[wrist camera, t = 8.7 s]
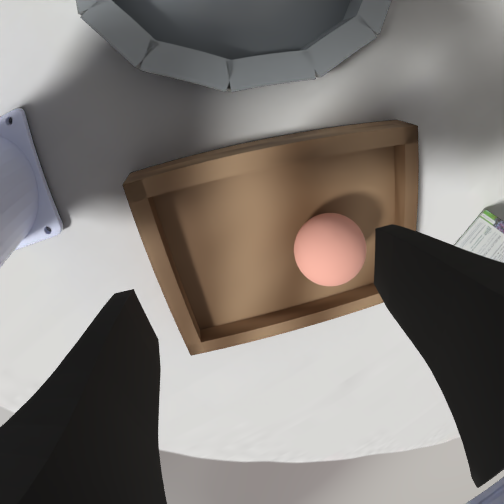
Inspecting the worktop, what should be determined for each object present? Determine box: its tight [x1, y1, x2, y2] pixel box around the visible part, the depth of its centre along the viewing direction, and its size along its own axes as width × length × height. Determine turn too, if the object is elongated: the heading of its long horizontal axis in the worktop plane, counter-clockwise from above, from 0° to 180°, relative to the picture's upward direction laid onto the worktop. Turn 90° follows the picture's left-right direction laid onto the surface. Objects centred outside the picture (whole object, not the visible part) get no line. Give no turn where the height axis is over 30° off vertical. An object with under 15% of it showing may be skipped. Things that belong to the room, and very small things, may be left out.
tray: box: [123, 120, 419, 355], centre depth 19 cm, size 16×12×2 cm
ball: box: [294, 213, 367, 286], centre depth 17 cm, size 4×4×4 cm
